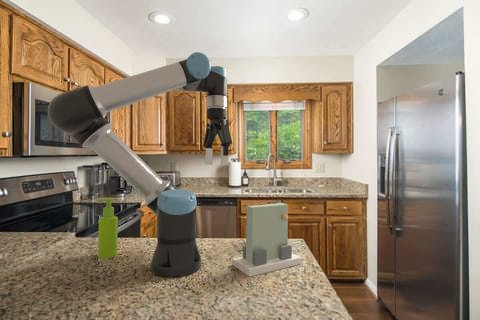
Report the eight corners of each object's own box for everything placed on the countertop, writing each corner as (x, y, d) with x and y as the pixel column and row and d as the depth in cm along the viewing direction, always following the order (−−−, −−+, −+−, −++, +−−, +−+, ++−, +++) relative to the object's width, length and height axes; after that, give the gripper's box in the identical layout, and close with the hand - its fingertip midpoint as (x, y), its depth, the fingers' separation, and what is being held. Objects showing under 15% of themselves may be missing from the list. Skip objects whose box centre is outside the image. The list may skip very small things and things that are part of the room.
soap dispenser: (91, 258, 89) (92, 198, 89) (108, 251, 96) (109, 196, 96) (104, 260, 87) (105, 199, 87) (120, 254, 93) (121, 197, 94)
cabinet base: (249, 276, 76) (249, 255, 76) (232, 265, 84) (232, 246, 85) (301, 263, 86) (301, 245, 86) (281, 254, 95) (281, 237, 95)
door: (254, 265, 79) (255, 208, 79) (245, 260, 83) (246, 206, 83) (290, 257, 86) (291, 205, 86) (280, 252, 90) (281, 203, 91)
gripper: (242, 104, 92) (241, 165, 92) (212, 114, 113) (211, 164, 113) (222, 101, 88) (222, 165, 88) (195, 113, 109) (194, 164, 109)
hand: (216, 164), depth 100 cm, fingers open, 13 cm apart
